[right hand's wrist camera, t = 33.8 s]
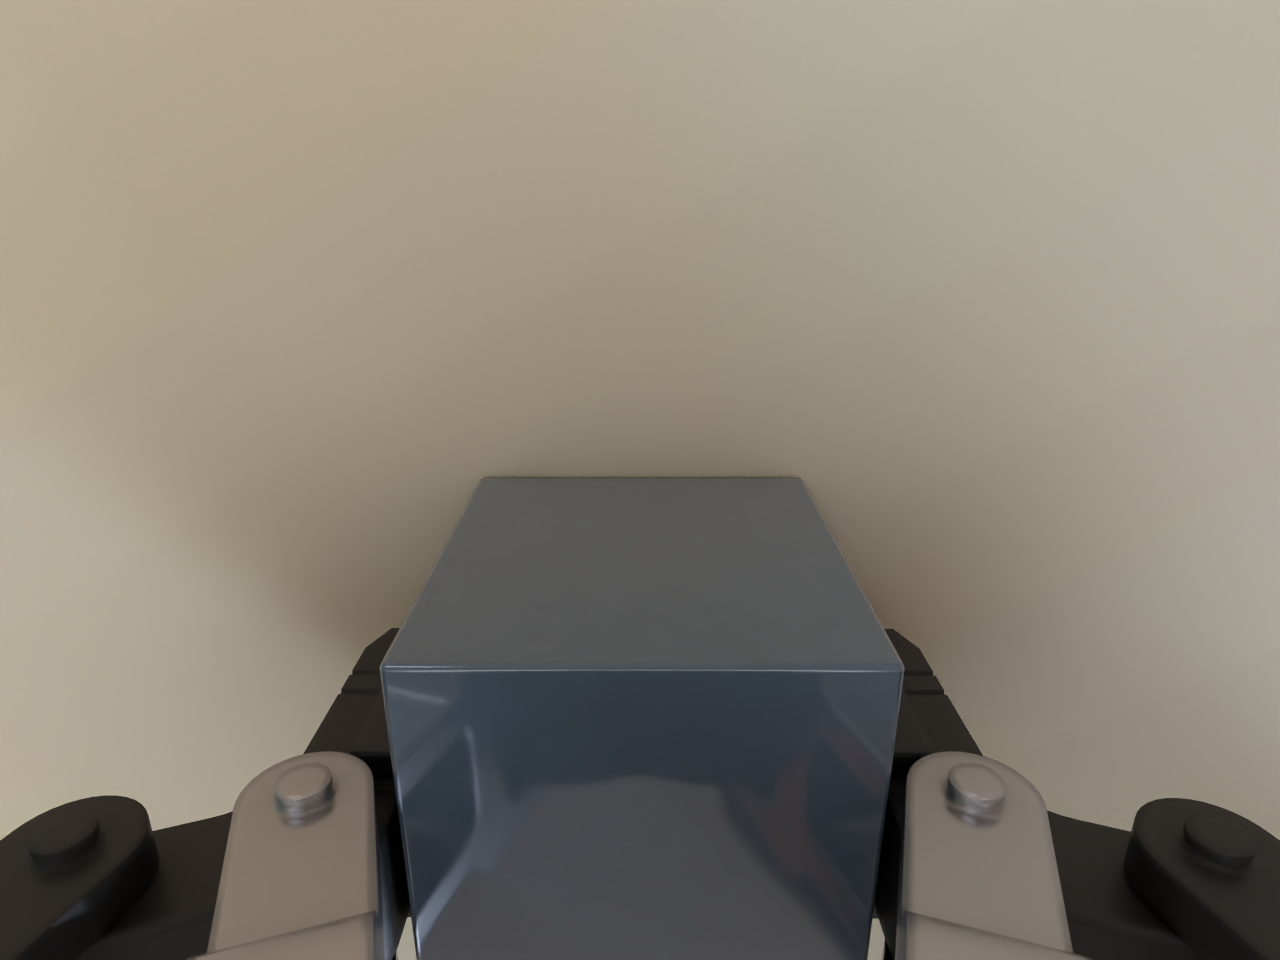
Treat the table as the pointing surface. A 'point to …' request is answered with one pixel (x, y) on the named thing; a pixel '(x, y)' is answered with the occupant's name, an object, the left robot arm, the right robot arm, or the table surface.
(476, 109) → the table surface
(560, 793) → the block
